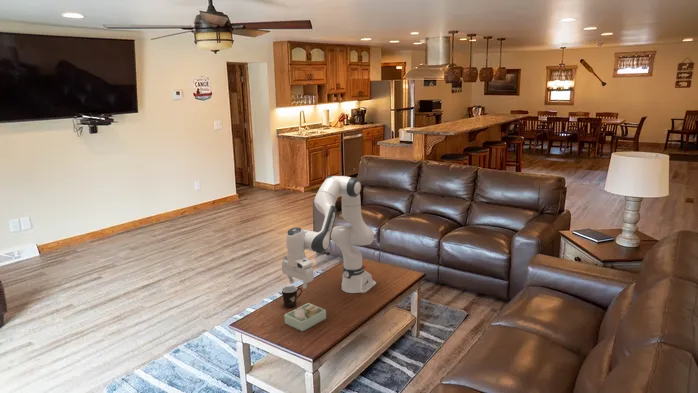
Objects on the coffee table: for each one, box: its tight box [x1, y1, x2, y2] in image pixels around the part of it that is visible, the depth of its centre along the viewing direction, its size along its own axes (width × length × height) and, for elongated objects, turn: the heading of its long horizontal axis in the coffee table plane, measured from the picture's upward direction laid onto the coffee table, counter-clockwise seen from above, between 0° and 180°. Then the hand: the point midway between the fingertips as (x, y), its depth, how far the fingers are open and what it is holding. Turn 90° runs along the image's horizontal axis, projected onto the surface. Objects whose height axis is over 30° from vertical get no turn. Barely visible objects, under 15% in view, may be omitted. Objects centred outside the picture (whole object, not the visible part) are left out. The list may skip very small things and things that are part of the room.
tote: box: [283, 302, 327, 332], centre depth 249 cm, size 17×13×5 cm
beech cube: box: [305, 304, 319, 318], centre depth 253 cm, size 5×5×5 cm
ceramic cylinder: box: [294, 307, 305, 322], centre depth 246 cm, size 5×5×7 cm
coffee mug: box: [281, 285, 303, 309], centre depth 267 cm, size 12×9×10 cm
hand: (298, 285), depth 242 cm, fingers open, 8 cm apart
